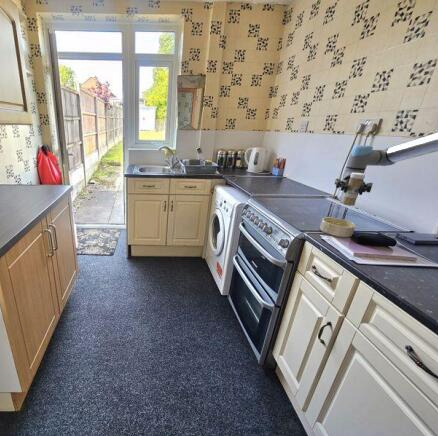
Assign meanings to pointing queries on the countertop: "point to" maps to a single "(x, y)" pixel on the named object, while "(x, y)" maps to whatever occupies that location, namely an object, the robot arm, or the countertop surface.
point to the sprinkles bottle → (353, 189)
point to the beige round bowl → (337, 227)
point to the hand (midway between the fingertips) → (353, 190)
